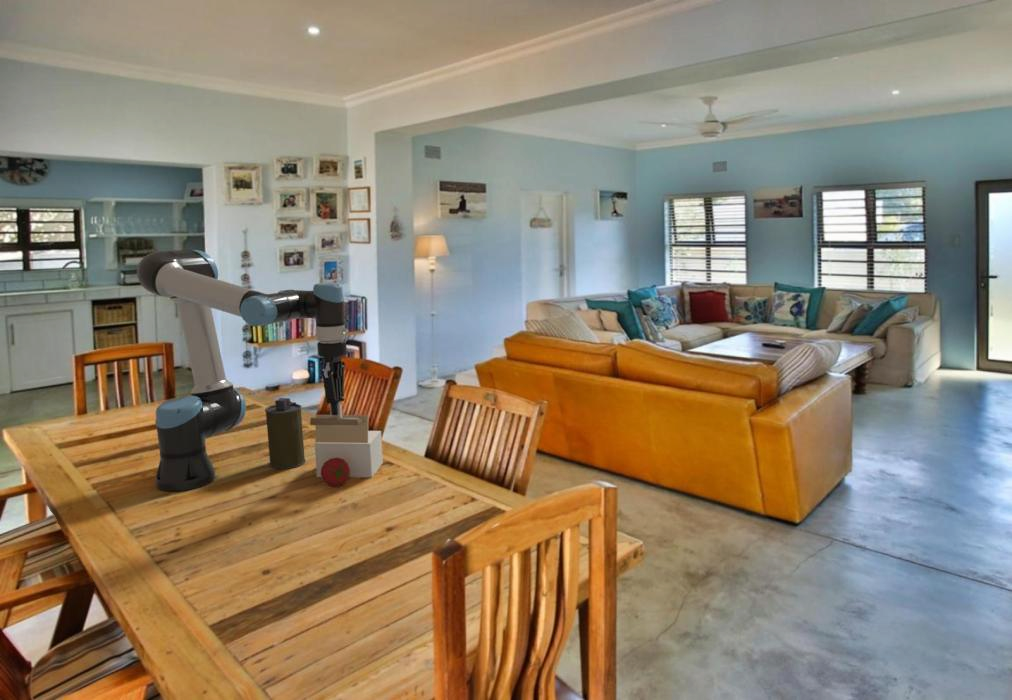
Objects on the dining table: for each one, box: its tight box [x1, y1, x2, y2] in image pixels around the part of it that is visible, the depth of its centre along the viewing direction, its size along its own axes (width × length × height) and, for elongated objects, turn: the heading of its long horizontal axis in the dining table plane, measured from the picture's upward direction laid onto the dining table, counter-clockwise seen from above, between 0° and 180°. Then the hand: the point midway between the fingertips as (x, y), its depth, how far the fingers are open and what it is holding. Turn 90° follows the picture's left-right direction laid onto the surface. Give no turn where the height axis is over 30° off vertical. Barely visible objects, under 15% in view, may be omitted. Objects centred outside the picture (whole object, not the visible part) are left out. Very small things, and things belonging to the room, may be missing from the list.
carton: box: [314, 430, 384, 478], centre depth 195 cm, size 16×12×10 cm
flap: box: [309, 414, 369, 444], centre depth 184 cm, size 15×8×7 cm
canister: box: [264, 397, 306, 470], centre depth 200 cm, size 11×10×20 cm
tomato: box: [321, 458, 350, 488], centre depth 183 cm, size 8×8×8 cm
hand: (337, 425), depth 184 cm, fingers closed
